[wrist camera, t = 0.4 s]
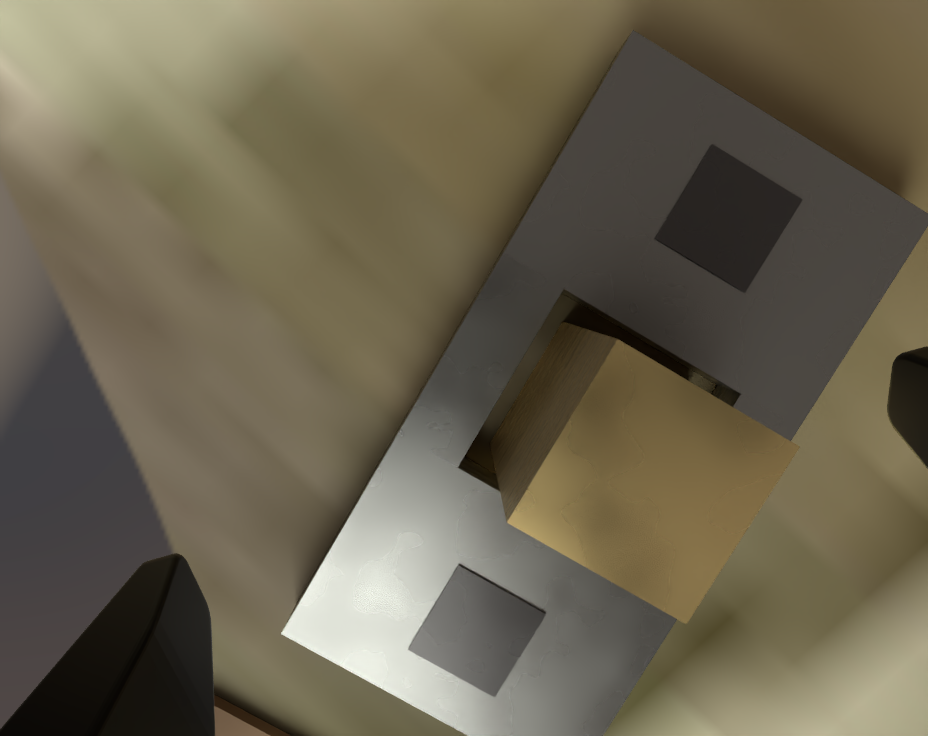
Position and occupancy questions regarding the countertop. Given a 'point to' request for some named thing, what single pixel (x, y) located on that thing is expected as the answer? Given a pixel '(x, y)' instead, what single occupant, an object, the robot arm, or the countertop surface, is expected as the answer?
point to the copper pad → (240, 722)
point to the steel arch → (646, 317)
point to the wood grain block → (633, 469)
